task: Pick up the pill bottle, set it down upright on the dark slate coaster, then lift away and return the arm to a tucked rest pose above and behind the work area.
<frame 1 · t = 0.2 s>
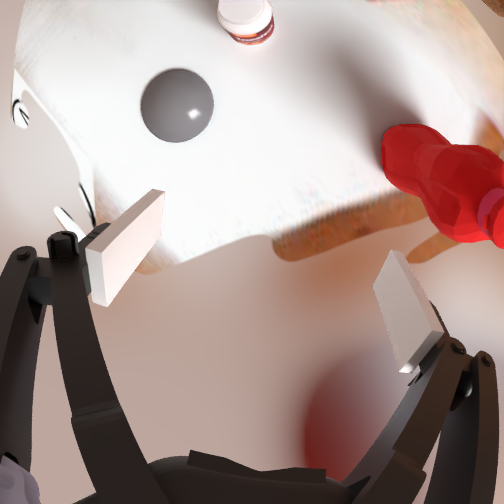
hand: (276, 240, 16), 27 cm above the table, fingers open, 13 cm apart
coaster: (176, 106, 37), on the table
pill bottle: (252, 26, 31), on the table
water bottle: (412, 153, 37), on the table
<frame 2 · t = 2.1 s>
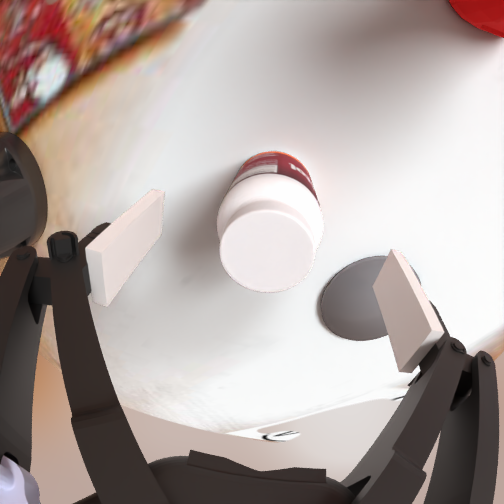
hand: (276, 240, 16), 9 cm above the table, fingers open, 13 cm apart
coaster: (372, 300, 29), on the table
pill bottle: (273, 184, 24), on the table
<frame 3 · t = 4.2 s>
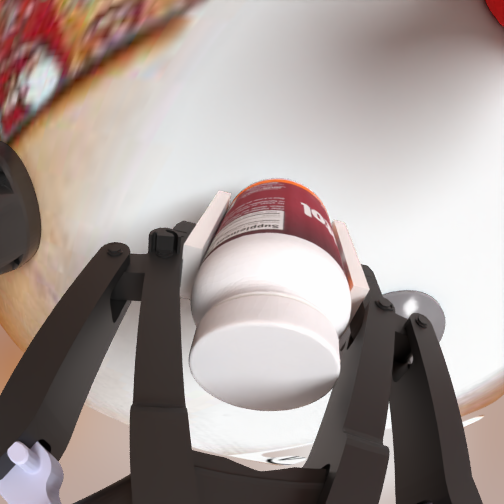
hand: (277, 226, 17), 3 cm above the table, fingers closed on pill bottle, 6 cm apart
coaster: (392, 336, 25), on the table
pill bottle: (277, 222, 18), point 3 cm above the table, touching gripper
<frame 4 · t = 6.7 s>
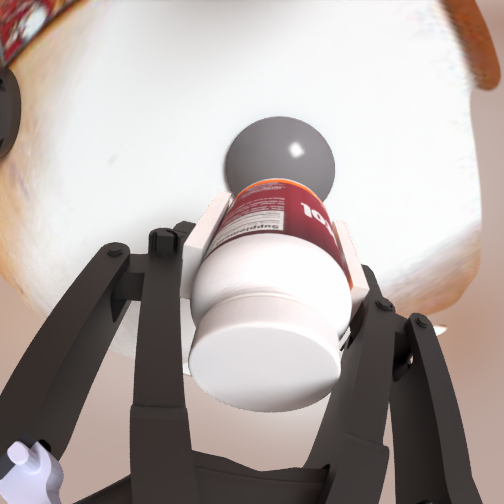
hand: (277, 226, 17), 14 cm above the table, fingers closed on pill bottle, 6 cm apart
coaster: (280, 169, 29), on the table
pill bottle: (277, 222, 18), point 13 cm above the table, touching gripper
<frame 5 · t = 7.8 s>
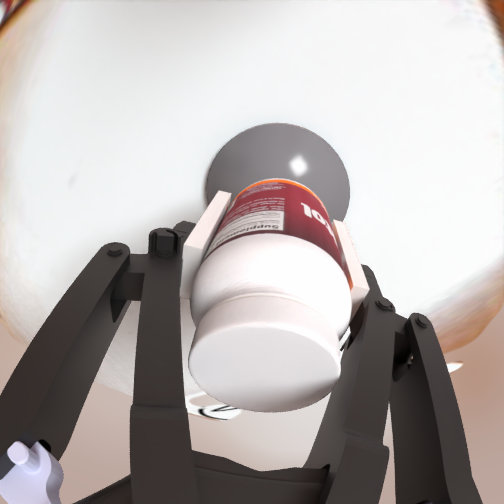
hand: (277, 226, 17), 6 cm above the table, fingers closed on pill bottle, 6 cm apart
coaster: (278, 193, 22), on the table
pill bottle: (277, 222, 18), point 5 cm above the table, touching gripper
when the fingers open (2 cm above the table, at t = 9.0 s): pill bottle stays where it is, resting on coaster.
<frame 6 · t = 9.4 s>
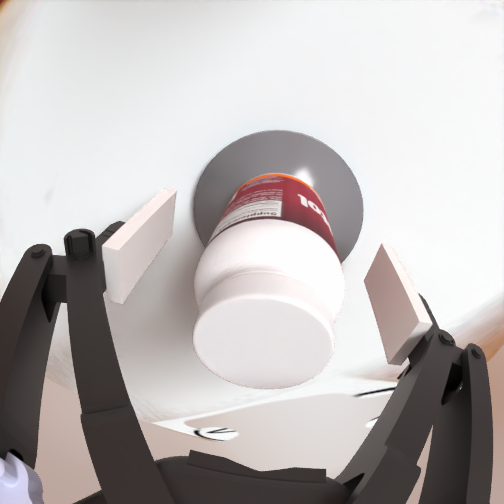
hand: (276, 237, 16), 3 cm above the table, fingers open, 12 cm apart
coaster: (278, 214, 19), on the table
pill bottle: (276, 215, 19), resting on coaster
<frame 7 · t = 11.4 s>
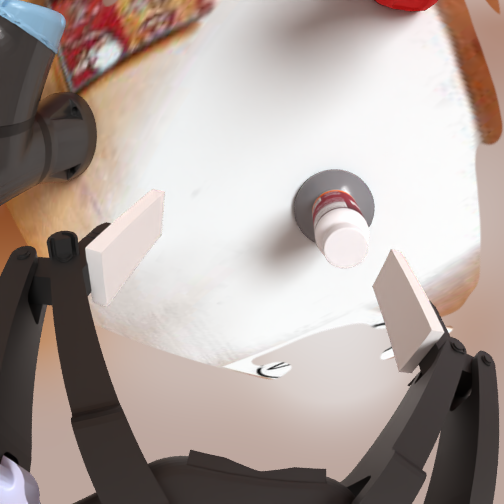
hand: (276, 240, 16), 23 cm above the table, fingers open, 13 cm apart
coaster: (334, 208, 39), on the table
pill bottle: (334, 209, 38), resting on coaster
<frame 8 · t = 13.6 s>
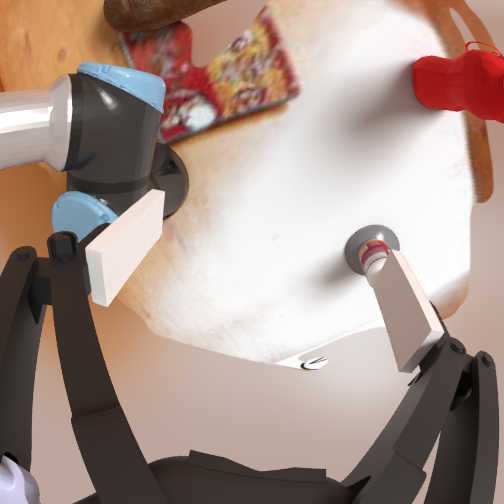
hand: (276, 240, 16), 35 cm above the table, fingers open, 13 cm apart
coaster: (372, 250, 54), on the table
pill bottle: (373, 251, 53), resting on coaster
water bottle: (432, 78, 36), on the table
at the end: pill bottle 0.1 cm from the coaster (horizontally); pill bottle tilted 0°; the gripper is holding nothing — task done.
